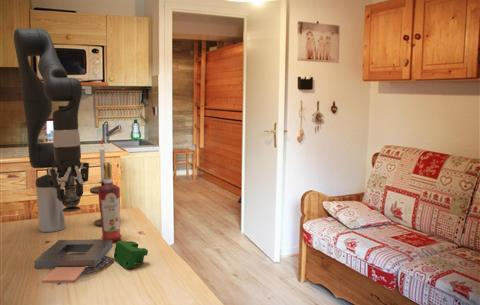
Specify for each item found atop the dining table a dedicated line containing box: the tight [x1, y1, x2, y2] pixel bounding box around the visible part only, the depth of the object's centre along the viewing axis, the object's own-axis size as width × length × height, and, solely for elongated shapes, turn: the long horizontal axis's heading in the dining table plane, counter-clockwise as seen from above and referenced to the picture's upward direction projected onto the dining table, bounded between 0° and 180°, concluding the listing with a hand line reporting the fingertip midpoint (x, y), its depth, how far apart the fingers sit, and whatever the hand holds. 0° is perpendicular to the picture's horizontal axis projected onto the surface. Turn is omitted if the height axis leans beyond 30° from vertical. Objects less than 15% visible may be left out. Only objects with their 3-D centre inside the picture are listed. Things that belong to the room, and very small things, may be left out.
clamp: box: [113, 240, 149, 269], centre depth 131 cm, size 12×6×9 cm, turn 34°
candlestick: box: [89, 137, 106, 228], centre depth 168 cm, size 11×11×35 cm
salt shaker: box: [62, 176, 82, 213], centre depth 131 cm, size 6×6×12 cm
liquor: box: [97, 161, 122, 243], centre depth 149 cm, size 7×7×28 cm
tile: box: [41, 267, 87, 283], centre depth 122 cm, size 9×9×1 cm
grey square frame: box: [33, 238, 113, 270], centre depth 136 cm, size 18×18×2 cm
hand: (70, 198), depth 131 cm, fingers closed on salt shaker, 6 cm apart
